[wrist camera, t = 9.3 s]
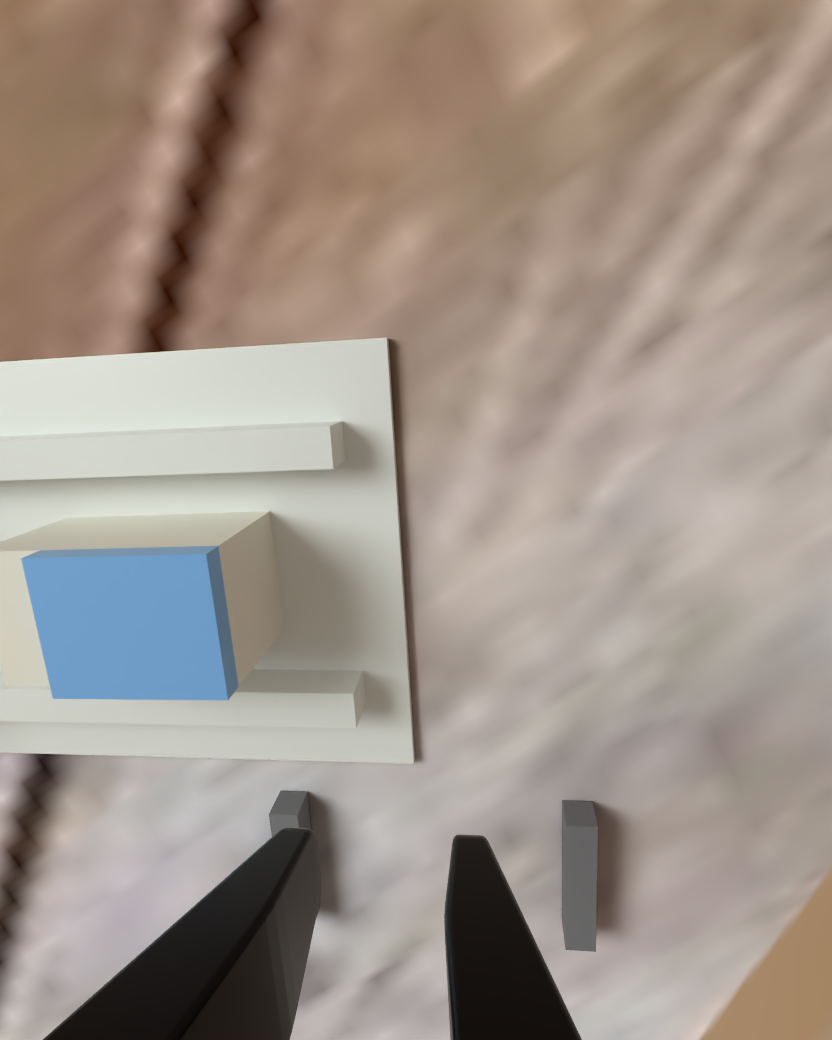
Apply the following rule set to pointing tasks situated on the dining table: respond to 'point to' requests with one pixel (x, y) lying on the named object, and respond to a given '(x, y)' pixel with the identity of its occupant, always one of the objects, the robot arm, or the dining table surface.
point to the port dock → (230, 488)
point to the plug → (139, 605)
